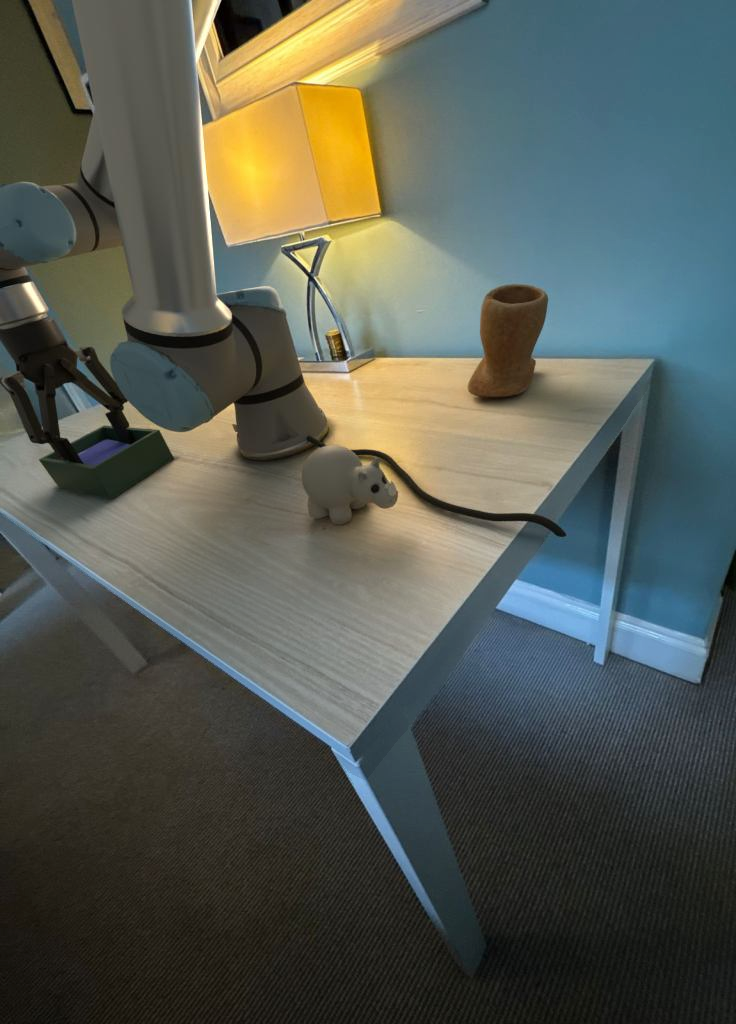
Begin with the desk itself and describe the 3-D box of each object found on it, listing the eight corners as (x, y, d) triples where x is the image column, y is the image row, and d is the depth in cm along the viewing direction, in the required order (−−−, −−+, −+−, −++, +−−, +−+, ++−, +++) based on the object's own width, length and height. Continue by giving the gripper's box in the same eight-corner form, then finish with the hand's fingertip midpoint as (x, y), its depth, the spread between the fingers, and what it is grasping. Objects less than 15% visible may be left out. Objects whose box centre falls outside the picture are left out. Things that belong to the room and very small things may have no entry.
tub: (174, 458, 77) (159, 429, 73) (112, 499, 68) (92, 468, 65) (119, 451, 85) (104, 425, 82) (58, 487, 77) (38, 459, 73)
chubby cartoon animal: (383, 546, 46) (368, 478, 41) (302, 521, 53) (280, 460, 48) (417, 508, 50) (407, 442, 46) (338, 489, 57) (321, 430, 52)
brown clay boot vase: (539, 403, 66) (542, 295, 57) (461, 403, 71) (453, 305, 63) (552, 366, 76) (556, 270, 68) (483, 369, 82) (479, 280, 73)
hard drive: (64, 460, 75) (99, 471, 69) (107, 438, 80) (144, 445, 74) (69, 468, 76) (104, 479, 69) (112, 445, 81) (148, 454, 74)
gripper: (77, 303, 71) (145, 430, 84) (-72, 348, 57) (37, 491, 70) (103, 299, 67) (170, 432, 80) (-50, 345, 53) (61, 497, 66)
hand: (108, 459), depth 75 cm, fingers closed on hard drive, 8 cm apart
